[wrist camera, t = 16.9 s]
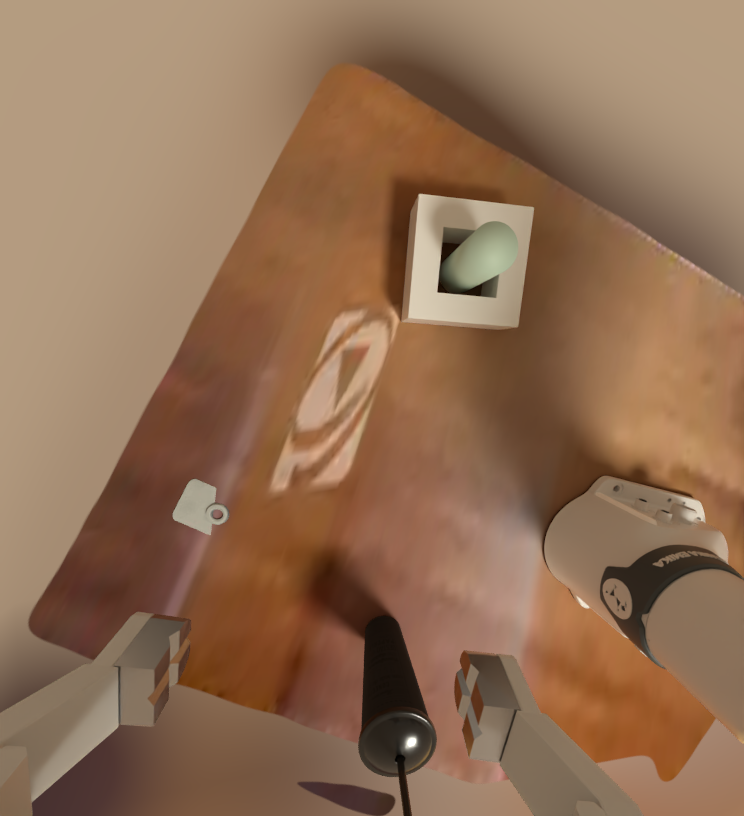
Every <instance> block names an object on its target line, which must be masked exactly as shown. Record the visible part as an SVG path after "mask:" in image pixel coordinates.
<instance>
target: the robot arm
mask: <svg viewBox="0 0 744 816" xmlns="http://www.w3.org/2000/svg"><path fill="white" fill-rule="evenodd" d="M614 487H615V488H614ZM613 488H614V489H613ZM544 553H545V559H546V563H547V565H548V568H549V570H550V571H551V573H552V574H553V575H554V577H555V578H556V579H557V580H559V581H560V582H561V583H563V584H564V585H565V586H567V587H568V588H569V589H570V591H571V593H572V595H573V597H574V599H575V600H576V601H577V602H578V603H579V604H580V605H581V606H582V607H584V608H591V609H592V610H593V611H595V612H596V613H597V614H598V615H599V616H600V617H602V618H603V619H604V620H605V621H606V622H607V623H609V624H610V625H611V626H612V627H613V628H614V629H616V630H617V631H618V632H619V633H620V634H622V635H623V636H624V637H626V638H629V639H630V640H631V641H632V642H633V643H634V644H635V647H636V648H637V649H638V650H639V651H640V652H642V653H643V654H644V655H645V656H647V657H648V658H649V659H650V660H652V661H653V662H654V663H655V664H656V665H658V666H660V667H661V668H664V669H666V670H668V671H669V672H670V673H671V674H672V675H673V676H674V677H675V678H676V679H677V680H678V681H679V682H680V683H681V684H682V685H683V686H684V687H685V688H686V689H687V690H688V691H689V692H690V693H691V694H692V695H693V696H694V697H695V698H696V699H697V700H698V701H699V702H700V703H701V704H702V705H703V706H704V707H705V708H706V709H707V710H708V711H709V712H710V713H711V714H712V715H714V716H715V717H716V718H717V719H718V720H719V721H720V722H721V723H722V724H723V725H724V726H725V727H726V728H727V729H728V730H729V731H730V732H731V733H732V734H733V735H734V736H735V737H736V738H737V739H738V740H739V741H740V742H741V743H743V744H744V578H743V577H742V576H741V575H740V574H739V573H738V572H737V571H735V570H734V569H733V568H732V567H731V566H730V565H728V546H727V542H726V539H725V537H724V536H723V534H722V533H721V532H720V531H719V530H718V529H716V528H715V527H713V526H711V525H709V524H707V523H705V515H704V510H703V507H702V505H701V503H700V501H698V500H696V499H694V498H692V497H689V496H685V495H681V494H678V493H674V492H670V491H666V490H662V489H658V488H654V487H650V486H646V485H642V484H638V483H634V482H631V481H627V480H623V479H619V478H615V477H611V476H602V477H600V478H599V479H598V480H597V481H596V482H595V483H594V484H593V485H592V486H591V487H590V489H589V490H588V491H587V492H586V493H584V494H583V495H581V496H580V497H578V498H576V499H574V500H573V501H571V502H570V503H568V504H567V505H566V506H565V507H564V508H563V509H561V510H560V512H559V513H558V514H557V515H556V516H555V518H554V519H553V521H552V523H551V524H550V526H549V529H548V531H547V534H546V538H545V544H544ZM190 630H191V620H190V619H186V618H179V617H173V616H166V615H159V614H150V613H143V612H137V613H135V614H134V615H132V616H131V617H130V618H129V619H128V621H127V622H126V623H125V624H124V625H123V627H122V628H121V629H120V630H119V631H118V633H117V634H116V635H115V636H114V637H113V639H112V640H111V641H110V642H109V643H108V645H107V646H106V647H105V648H104V649H103V651H102V652H101V653H100V654H99V655H98V657H97V658H96V659H95V660H94V661H93V663H92V664H84V665H82V666H81V667H79V668H77V669H75V670H74V671H72V672H70V673H69V674H67V675H65V676H63V677H62V678H60V679H58V680H56V681H55V682H53V683H51V684H50V685H48V686H46V687H44V688H43V689H41V690H39V691H37V692H36V693H34V694H32V695H31V696H29V697H27V698H25V699H24V700H22V701H20V702H18V703H17V704H15V705H13V706H12V707H10V708H8V709H6V710H5V711H3V712H1V713H0V816H33V815H32V803H31V802H33V801H34V800H35V799H36V798H37V797H38V796H40V795H41V794H42V793H43V792H44V791H45V790H46V789H47V788H49V787H50V786H51V785H52V784H53V783H54V782H55V781H57V780H58V779H59V778H60V777H61V776H63V775H64V774H65V773H66V772H67V771H68V770H69V769H71V768H72V767H73V766H74V765H75V764H76V763H77V762H79V761H80V760H81V759H82V758H83V757H84V756H85V755H87V754H88V753H89V752H90V751H91V750H92V749H94V748H95V747H96V746H97V745H98V744H99V743H100V742H101V741H103V740H104V739H105V738H106V737H107V736H109V735H110V734H111V733H112V732H113V731H114V730H115V729H116V728H118V725H119V724H122V725H136V726H151V727H153V726H154V725H155V723H156V721H157V719H158V717H159V715H160V714H161V712H162V710H163V708H164V706H165V704H166V703H167V701H168V696H169V688H170V687H172V686H173V685H174V684H176V683H177V682H178V680H179V679H180V677H181V675H182V673H183V671H184V668H185V665H186V663H187V660H188V656H189V652H190V641H189V640H188V638H187V636H188V634H189V632H190ZM460 663H461V667H462V668H461V669H460V670H459V671H458V672H457V673H456V678H455V690H454V694H455V702H456V706H457V711H458V713H459V714H460V716H461V717H462V718H463V719H464V725H463V728H462V732H463V736H464V740H465V744H466V748H467V752H468V756H469V759H475V760H482V761H490V762H497V763H500V766H501V767H502V769H503V770H504V772H505V773H506V775H507V776H508V778H509V779H510V781H511V782H512V783H513V785H514V787H515V788H516V789H517V791H518V793H519V794H520V796H521V797H522V798H523V800H524V801H525V803H526V804H527V805H528V807H529V809H530V810H531V812H532V813H533V815H534V816H643V814H642V812H641V810H640V809H639V807H638V805H637V804H636V803H635V802H634V801H633V800H632V799H631V798H630V797H629V796H628V795H627V794H626V793H625V792H624V791H623V790H622V789H621V788H620V787H619V786H618V785H617V784H616V783H615V782H614V781H613V780H612V779H611V778H610V777H609V776H608V775H607V774H606V773H605V772H604V771H603V770H602V769H601V768H600V767H599V766H598V765H597V764H596V763H595V762H594V761H593V760H592V759H591V758H590V757H589V756H588V755H587V754H586V753H585V752H584V751H583V750H582V749H581V748H580V747H579V746H578V745H577V744H576V743H575V742H574V741H573V740H572V739H571V738H570V737H569V736H568V735H567V734H566V733H565V732H564V731H563V730H562V729H561V728H560V727H559V726H558V725H557V724H556V723H555V722H554V721H553V720H552V719H551V718H550V717H549V716H548V715H547V714H544V713H541V712H540V710H539V708H538V706H537V704H536V701H535V699H534V697H533V695H532V693H531V691H530V688H529V686H528V684H527V682H526V680H525V678H524V675H523V673H522V671H521V669H520V667H519V665H518V663H517V660H516V659H515V658H514V656H512V655H502V654H494V653H484V652H475V651H465V650H464V651H463V652H462V654H461V658H460Z"/></svg>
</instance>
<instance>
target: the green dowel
mask: <svg viewBox="0 0 744 816" xmlns="http://www.w3.org/2000/svg"><path fill="white" fill-rule="evenodd" d="M517 254H518V240H517V237H516V235H515V233H514V231H513V230H512V229H511V228H510V227H509V226H508V225H507V224H505V223H502V222H499V221H491V222H487V223H485V224H483V225H481V226H480V227H479V228H478V229H477V230H476V231H475V232H473V233H472V234H471V235H470V236H469V237H468V238H467V239H466V240H465V241H464V242H463V243H462V244H461V245H460V246H459V247H458V248H457V249H456V250H455V251H454V252H452V253H451V254H450V255H449V256H448V257H447V258H446V259H445V260H444V261H443V263H442V264H441V266H440V269H439V279H440V283H441V285H442V286H443V287H444V289H446V290H447V291H448V292H450V293H454V294H460V293H464V292H466V291H468V290H470V289H472V288H474V287H475V286H477V285H479V284H481V283H483V282H485V281H487V280H489V279H491V278H493V277H495V276H497V275H499V274H500V273H502V272H504V271H506V270H507V269H509V268H510V267H511V266H512V264H513V263H514V261H515V259H516V257H517Z"/></svg>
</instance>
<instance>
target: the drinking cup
mask: <svg viewBox="0 0 744 816" xmlns="http://www.w3.org/2000/svg"><path fill="white" fill-rule="evenodd" d="M436 742H437V737H436V731H435V728H434V725H433V723H432V721H431V720H430V719H429V717H428V714H427V711H426V708H425V705H424V701H423V698H422V695H421V692H420V689H419V686H418V683H417V679H416V676H415V673H414V670H413V667H412V664H411V660H410V657H409V654H408V651H407V648H406V645H405V642H404V638H403V635H402V632H401V629H400V626H399V624H398V622H397V621H396V620H395V619H393V618H391V617H388V616H380V617H377V618H375V619H373V620H372V621H370V622H369V624H368V625H367V627H366V630H365V650H364V677H363V703H362V730H361V733H360V736H359V741H358V746H359V747H358V748H359V754H360V757H361V760H362V761H363V763H364V764H365V766H366V767H367V768H368V769H370V770H371V771H373V772H374V773H377V774H379V775H382V776H387V777H399V784H400V791H401V799H402V806H403V815H404V816H412V813H411V806H410V799H409V792H408V785H407V779H406V775H408V774H411V773H413V772H415V771H417V770H419V769H420V768H421V767H423V766H424V765H425V764H426V763H427V762H428V761H429V760H430V758H431V757H432V755H433V753H434V751H435V748H436Z"/></svg>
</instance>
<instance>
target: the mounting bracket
mask: <svg viewBox="0 0 744 816" xmlns="http://www.w3.org/2000/svg"><path fill="white" fill-rule="evenodd" d="M215 495H216V488H215V487H213V486H210V485H208V484H206V483H204V482H202V481H200V480H198V479H193V480H191V481H190V482H189V483H188V484H187V486H186V488H185V490H184V492H183V494H182V496H181V498H180V500H179V502H178V504H177V506H176V508H175V510H174V512H173V518H174V520H176V521H178V522H180V523H183V524H185V525H187V526H190V527H192V528H194V529H197V530H199V531H201V532H204V533H206V534H208V535H211V527H212V524H216V525H218V524H222V523H224V522H226V521H227V519H228V518H229V510H228V509H227V507H226V506H224V505H223V504H220V503H215ZM214 503H215V504H214ZM215 509H219V510H221V511H222V512H223V517H222V518H221V519H215V518H213V511H214V510H215Z"/></svg>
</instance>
